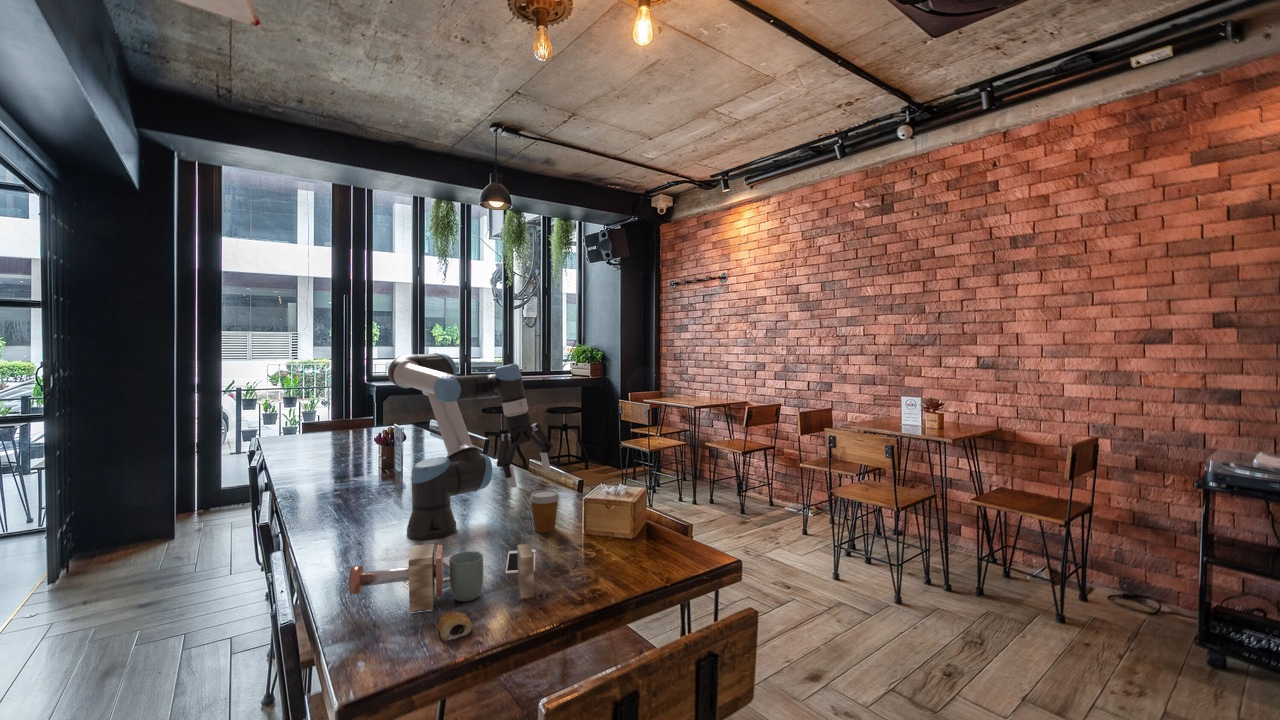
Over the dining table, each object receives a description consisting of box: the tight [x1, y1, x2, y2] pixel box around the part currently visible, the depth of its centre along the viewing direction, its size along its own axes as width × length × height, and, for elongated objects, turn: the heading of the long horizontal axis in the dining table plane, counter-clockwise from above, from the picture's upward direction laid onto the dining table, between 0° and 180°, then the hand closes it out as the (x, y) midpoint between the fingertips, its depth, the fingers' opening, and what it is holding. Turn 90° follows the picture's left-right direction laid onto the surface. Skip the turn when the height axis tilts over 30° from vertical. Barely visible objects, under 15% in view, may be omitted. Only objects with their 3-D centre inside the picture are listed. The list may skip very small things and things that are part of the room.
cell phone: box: [505, 548, 536, 575], centre depth 160 cm, size 8×16×1 cm, turn 10°
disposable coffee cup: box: [529, 489, 560, 534], centre depth 186 cm, size 10×10×12 cm
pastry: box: [437, 611, 473, 641], centre depth 122 cm, size 9×7×4 cm
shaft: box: [348, 544, 444, 598], centre depth 132 cm, size 20×9×9 cm, turn 107°
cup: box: [448, 550, 484, 603], centre depth 137 cm, size 8×8×10 cm
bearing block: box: [408, 543, 436, 613], centre depth 134 cm, size 5×9×12 cm, turn 17°
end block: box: [517, 543, 535, 600], centre depth 141 cm, size 3×9×10 cm, turn 17°
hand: (531, 479), depth 178 cm, fingers open, 13 cm apart
